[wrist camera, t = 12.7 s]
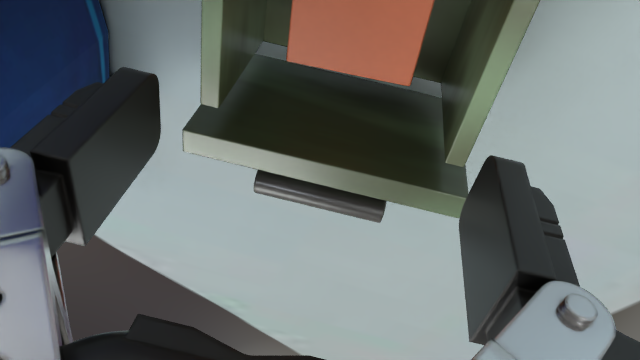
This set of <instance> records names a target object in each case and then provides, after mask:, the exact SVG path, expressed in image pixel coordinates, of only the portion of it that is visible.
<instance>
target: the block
mask: <svg viewBox="0 0 640 360" xmlns="http://www.w3.org/2000/svg"><path fill="white" fill-rule="evenodd" d="M434 1H435V0H292V7H291V17H290V27H289V37H288V47H287V57H286V60H287V61H288V62H293V63H298V64H302V65H307V66H312V67H317V68H322V69H327V70H332V71H336V72H341V73H346V74H351V75H356V76H361V77H366V78H370V79H375V80H380V81H385V82H390V83H395V84H400V85H404V86H410V85H411V82H412V78H413V75H414V71H415V68H416V64H417V61H418V57H419V54H420V50H421V47H422V43H423V40H424V36H425V33H426V29H427V26H428V22H429V19H430V15H431V12H432V8H433V5H434Z"/></svg>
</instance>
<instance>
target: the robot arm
mask: <svg viewBox="0 0 640 360" xmlns="http://www.w3.org/2000/svg"><path fill="white" fill-rule="evenodd" d="M160 132H161V124H160V101H159V82H158V78H157V76H156V75H155V74H152V73H148V72H143V71H139V70H135V69H131V68H127V67H122V68H120V69H119V70H118V71H116V72H115V73H114V74H113V75H112V76H111V77H110V78H109V79H108V80H107V81H106V82H104V83H100V82H96V83H93V84H91V85H88V86H86V87H83V88H81V89H78V90H76V91H75V92H74V93H73V94H72V95H70V96H69V97H68V98H67V99H66V100H65V101H63V104H62V105H59V106H58V107H56V108H55V109H54V110H53V111H52V112H51V115H47V116H46V117H45V118H44V119H43V120H41V121H40V122H39V123H38V124H37V125H36V126H34V127H33V128H32V129H31V130H30V131H29V132H28V133H26V134H25V135H24V136H23V137H22V138H21V139H19V140H18V141H17V142H16V143H15V144H14V145H12V146H11V147H10V148H7V147H0V360H325V359H321V358H317V357H313V356H250V355H246V354H243V353H241V352H239V351H237V350H235V349H233V348H231V347H229V346H227V345H226V344H224V343H222V342H220V341H218V340H216V339H215V338H213V337H211V336H209V335H207V334H205V333H203V332H201V331H199V330H198V329H196V328H194V327H190V326H186V325H182V324H178V323H174V322H170V321H166V320H162V319H158V318H154V317H149V316H145V315H141V314H138V315H137V317H136V319H135V320H134V322H133V324H132V326H131V327H130V329H129V331H115V332H106V333H101V334H97V335H92V336H89V337H85V338H82V339H79V340H76V341H74V342H73V338H72V334H71V329H70V324H69V318H68V313H67V307H66V301H65V295H64V289H63V283H62V277H61V272H60V266H59V260H58V256H57V250H58V249H59V248H60V247H61V245H62V244H63V243H64V242H65V241H66V242H70V243H74V244H78V245H82V246H86V244H87V243H88V242H89V240H90V239H91V238H92V236H93V235H94V234H95V232H96V231H97V230H98V228H99V227H100V226H101V224H102V223H103V221H104V220H105V219H106V217H107V216H108V215H109V213H110V212H111V211H112V209H113V208H114V207H115V205H116V204H117V203H118V201H119V200H120V198H121V197H122V196H123V194H124V193H125V192H126V190H127V189H128V188H129V186H130V185H131V184H132V182H133V181H134V180H135V178H136V177H137V175H138V174H139V173H140V171H141V170H142V169H143V167H144V166H145V165H146V163H147V162H148V161H149V159H150V158H151V157H152V155H153V154H154V152H155V150H156V148H157V146H158V143H159V139H160ZM558 223H559V221H558V218H557V215H556V212H555V209H554V206H553V204H552V203H551V202H550V201H549V199H548V198H547V197H546V196H545V195H544V193H543V192H542V191H541V190H540V189H539V188H535V187H531V186H530V183H529V179H528V176H527V172H526V169H525V166H524V164H523V163H521V162H517V161H513V160H509V159H504V158H500V157H496V156H489V157H488V158H487V159H486V161H485V162H484V164H483V166H482V168H481V170H480V172H479V174H478V176H477V178H476V180H475V182H474V184H473V186H472V188H471V190H470V192H469V194H468V196H467V198H466V200H465V202H464V205H463V207H462V210H461V214H460V220H459V233H460V244H461V255H462V266H463V277H464V288H465V299H466V309H467V320H468V331H469V342H474V343H478V344H482V345H484V346H483V348H482V349H481V350H480V351H479V352H478V353H477V354H476V355H475V356H474V357H473V358H472V360H640V342H638V341H636V340H634V339H632V338H630V337H628V336H626V335H624V334H622V333H621V332H619V331H617V330H616V327H615V323H614V320H613V318H612V316H611V314H610V312H609V311H608V309H607V308H606V307H605V306H604V305H603V303H602V302H601V301H600V300H598V299H597V298H596V297H595V296H594V295H592V294H591V293H590V292H588V291H587V290H585V289H583V288H581V287H580V285H579V282H578V279H577V276H576V273H575V270H574V267H573V264H572V261H571V258H570V255H569V252H568V249H567V246H566V242H565V240H563V233H562V230H561V227H560V226H559V225H558Z"/></svg>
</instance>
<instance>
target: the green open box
mask: <svg viewBox="0 0 640 360" xmlns="http://www.w3.org/2000/svg"><path fill="white" fill-rule="evenodd" d="M539 2H540V0H435V1H434V5H433V8H432V12H431V15H430V19H429V22H428V26H427V29H426V33H425V36H424V40H423V43H422V47H421V50H420V54H419V57H418V61H417V64H416V68H415V71H414V75H413V77H417V78H422V79H426V80H430V81H434V82H439V83H441V92H442V98H440V97H436V96H432V95H427V94H423V93H419V92H415V91H411V90H406V89H402V88H398V87H394V86H389V85H385V84H381V83H377V82H373V81H368V80H364V79H360V78H356V77H351V76H347V75H343V74H339V73H335V72H330V71H326V70H322V69H318V68H313V67H309V66H305V65H301V64H296V63H292V62H288V61H284V60H280V59H275V58H271V57H267V56H263V55H258V54H255V53H256V51H257V50H258V48H259V47H260V45H261V44H262V42H263V41H265V42H269V43H273V44H277V45H282V46H286V47H288V37H289V27H290V17H291V7H292V0H202V23H201V105H200V106H199V108H198V109H197V111H196V112H195V113H194V115H193V116H192V117H191V119H190V120H189V122H188V123H187V124H186V126H185V127H184V128H183V151H184V152H188V153H192V154H196V155H200V156H204V157H208V158H212V159H217V160H221V161H225V162H229V163H233V164H237V165H241V166H245V167H249V168H254V169H258V171H257V174H256V177H255V182H254V192H255V193H259V194H263V195H267V196H271V197H275V198H279V199H283V200H287V201H292V202H296V203H300V204H304V205H308V206H312V207H316V208H320V209H324V210H328V211H332V212H337V213H341V214H345V215H349V216H353V217H357V218H361V219H365V220H369V221H373V222H378V223H380V222H381V220H382V218H383V215H384V211H385V207H386V202H387V201H389V202H393V203H398V204H402V205H406V206H410V207H414V208H418V209H422V210H426V211H431V212H435V213H439V214H443V215H447V216H451V217H455V218H460V214H461V210H462V207H463V205H464V202H465V200H466V198H467V196H468V185H467V176H466V166H465V163H466V161H467V159H468V157H469V155H470V152H471V150H472V148H473V146H474V144H475V142H476V139H477V137H478V135H479V133H480V131H481V128H482V126H483V124H484V122H485V120H486V118H487V115H488V113H489V111H490V109H491V107H492V104H493V102H494V100H495V98H496V96H497V94H498V91H499V89H500V87H501V85H502V83H503V81H504V78H505V76H506V74H507V72H508V70H509V67H510V65H511V63H512V61H513V59H514V57H515V54H516V52H517V50H518V48H519V46H520V43H521V41H522V39H523V37H524V35H525V33H526V30H527V28H528V26H529V24H530V22H531V19H532V17H533V15H534V13H535V11H536V9H537V6H538V4H539Z"/></svg>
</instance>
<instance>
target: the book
mask: <svg viewBox="0 0 640 360" xmlns="http://www.w3.org/2000/svg"><path fill="white" fill-rule="evenodd" d="M108 79H109V41H108V29H107V26H106V23H105V19H104V16H103V13H102V10H101V6H100V3H99V0H0V147H7V148H10V147H11V146H12V145H14V144H15V143H16V142H17V141H18V140H19V139H21V138H22V137H23V136H24V135H25V134H26V133H28V132H29V131H30V130H31V129H32V128H33V127H34V126H36V125H37V124H38V123H39V122H40V121H41V120H43V119H44V118H45V117H46V116H47V115H51V112H52V111H53V110H54V109H55V108H56V107H58V106H59V105H62V104H63V101H65V100H66V99H67V98H68V97H69V96H70V95H72V94H73V93H74V92H75V91H76V90H78V89H81V88H83V87H86V86H88V85H91V84H93V83H96V82H100V83H104V82H106V81H107V80H108Z"/></svg>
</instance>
